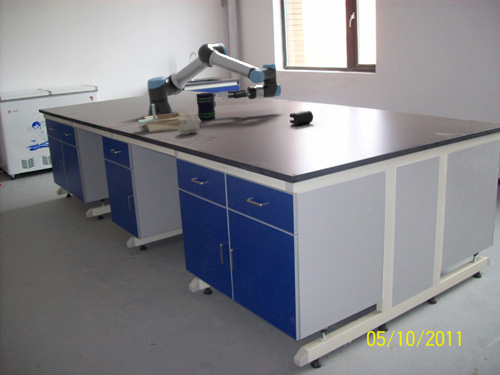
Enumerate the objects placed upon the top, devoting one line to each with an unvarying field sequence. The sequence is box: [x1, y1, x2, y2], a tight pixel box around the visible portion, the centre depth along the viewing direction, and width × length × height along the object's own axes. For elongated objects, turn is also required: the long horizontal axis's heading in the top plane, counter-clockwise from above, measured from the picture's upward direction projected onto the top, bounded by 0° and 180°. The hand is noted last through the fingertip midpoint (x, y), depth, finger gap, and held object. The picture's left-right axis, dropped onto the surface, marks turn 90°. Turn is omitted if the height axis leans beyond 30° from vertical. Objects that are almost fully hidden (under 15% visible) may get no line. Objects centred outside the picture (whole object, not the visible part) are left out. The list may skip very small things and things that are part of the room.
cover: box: [138, 104, 157, 125], centre depth 271 cm, size 9×9×9 cm
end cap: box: [289, 110, 314, 127], centre depth 258 cm, size 10×7×7 cm
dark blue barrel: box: [195, 92, 216, 122], centre depth 295 cm, size 10×10×15 cm
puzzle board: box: [144, 111, 193, 133], centre depth 284 cm, size 30×24×5 cm
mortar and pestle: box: [212, 92, 217, 109], centre depth 322 cm, size 11×9×12 cm
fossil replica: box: [177, 117, 202, 136], centre depth 256 cm, size 12×8×10 cm
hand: (219, 95), depth 295 cm, fingers open, 13 cm apart
